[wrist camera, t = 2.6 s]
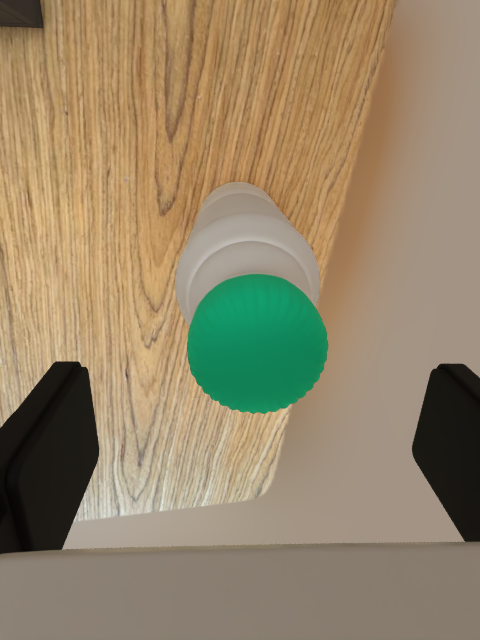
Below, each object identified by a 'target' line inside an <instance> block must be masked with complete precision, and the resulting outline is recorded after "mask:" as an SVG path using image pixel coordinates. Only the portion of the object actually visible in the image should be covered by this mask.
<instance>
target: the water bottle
mask: <svg viewBox="0 0 480 640" xmlns="http://www.w3.org/2000/svg"><path fill="white" fill-rule="evenodd" d="M175 291H176V298H177V302H178V306H179V308H180V311H181V313H182V315H183V317H184V319H185V321H186V322H187V324H188V325H189V327H190V328H189V333H188V342H187V350H188V361H189V364H190V370H191V373H192V375H193V376H194V377H195V379H196V381H197V384H198V385H200V386H202V389H203V391H204V392H205V393H206V394H209V395H210V397H211V399H213V400H215V401H219V403H220V405H222V406H228V407H229V408H230V409H232V410H237V409H238V410H239V411H240V412H247V411H248V412H250V413H253V414H254V413H257V412H260V413H263V414H265V413H267V412H269V411H272V412H276V411H278V410H279V409H280V408H287V407H288V406H289V404H292V403H296V402H297V400H298V398H301V397H304V396H305V394H306V392H307V391H309V390H311V389H312V388H313V385H314V383H315V382H317V381H318V380H319V377H320V373H321V372H322V371H323V370H324V363H325V361H326V359H327V350H328V341H327V332H326V329H325V326H324V324H323V322H322V319H321V317H320V315H319V313H318V311H317V309H316V306H317V302H318V299H319V293H320V273H319V267H318V263H317V260H316V257H315V255H314V253H313V251H312V249H311V247H310V246H309V244H308V243H307V241H306V240H305V239H304V237H303V236H302V235H301V234H300V233H299V232H298V231H297V230H296V229H295V228H294V227H293V225H292V224H291V222H290V221H289V220H288V219H287V217H286V216H285V215H284V214H283V213H282V212H281V211H280V210H279V208H278V207H277V206H276V204H275V203H274V202H273V201H272V199H271V198H270V197H269V195H268V194H267V193H266V192H265V191H263V190H262V189H261V188H259V187H257V186H255V185H253V184H250V183H246V182H230V183H226V184H224V185H221V186H219V187H218V188H216V189H215V190H213V191H212V192H211V193H210V194H209V195H208V196H207V197H206V199H205V200H204V202H203V204H202V206H201V208H200V210H199V214H198V216H197V219H196V222H195V225H194V226H193V229H192V231H191V233H190V236H189V238H188V241H187V245H186V247H185V249H184V250H183V252H182V255H181V257H180V259H179V262H178V266H177V270H176V277H175Z"/></svg>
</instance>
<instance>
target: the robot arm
mask: <svg viewBox="0 0 480 640" xmlns="http://www.w3.org/2000/svg"><path fill="white" fill-rule="evenodd" d="M412 453H413V457H414V459H415V461H416V463H417V465H418V466H419V468H420V469H421V471H422V473H423V474H424V476H425V478H426V479H427V481H428V482H429V484H430V485H431V487H432V489H433V491H434V492H435V494H436V495H437V497H438V498H439V500H440V502H441V503H442V505H443V507H444V508H445V510H446V512H447V513H448V515H449V517H450V518H451V520H452V521H453V523H454V525H455V526H456V528H457V530H458V531H459V533H460V534H461V536H462V537H463V539H464V541H465V542H412V543H411V542H409V543H334V544H274V545H273V544H271V545H220V546H219V545H218V546H171V547H127V548H94V549H67V550H62V548H63V545H64V542H65V540H66V538H67V535H68V533H69V530H70V528H71V525H72V523H73V521H74V518H75V516H76V513H77V511H78V508H79V506H80V503H81V501H82V498H83V496H84V493H85V491H86V488H87V486H88V483H89V481H90V479H91V476H92V474H93V471H94V469H95V466H96V464H97V461H98V457H99V443H98V436H97V429H96V422H95V415H94V408H93V401H92V394H91V387H90V380H89V373H88V369H87V368H86V367H81V364H80V363H79V362H60V361H58V362H55V363H53V365H52V366H51V367H50V369H49V370H48V371H47V372H46V374H45V375H44V376H43V377H42V379H41V380H40V381H39V382H38V384H37V385H36V386H35V387H34V389H33V390H32V391H31V392H30V394H29V395H28V396H27V398H26V399H25V400H24V401H23V403H22V404H21V405H20V406H19V408H18V409H17V410H16V411H15V412H14V413H13V414H12V415H11V416H10V417H9V418H8V419H7V421H6V422H5V423H4V424H3V426H2V427H1V428H0V640H480V378H479V377H478V376H477V375H476V374H474V373H473V372H472V371H471V370H470V369H469V368H468V367H467V366H466V365H464V364H440V365H439V366H438V367H437V369H433V370H432V371H431V374H430V378H429V381H428V385H427V390H426V393H425V397H424V401H423V405H422V409H421V413H420V417H419V421H418V425H417V429H416V433H415V437H414V441H413V445H412Z"/></svg>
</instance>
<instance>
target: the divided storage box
mask: <svg viewBox="0 0 480 640" xmlns="http://www.w3.org/2000/svg"><path fill="white" fill-rule="evenodd" d="M0 26H7V27H31V28H43V21H42V14H41V7H40V0H0Z"/></svg>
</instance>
